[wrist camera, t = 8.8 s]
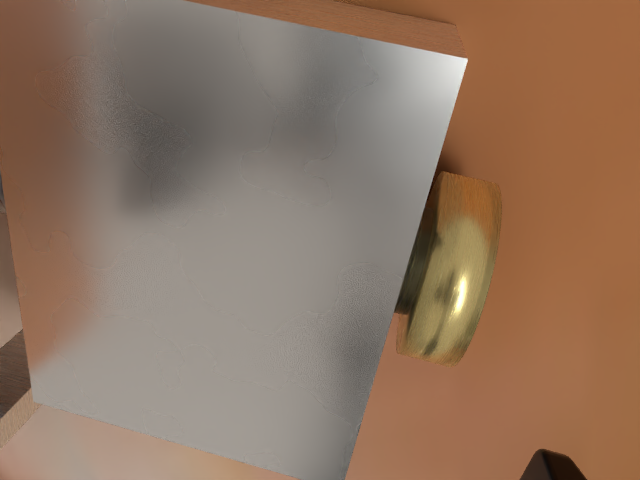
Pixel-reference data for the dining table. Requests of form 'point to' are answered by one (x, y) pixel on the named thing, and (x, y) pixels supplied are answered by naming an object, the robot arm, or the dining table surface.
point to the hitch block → (215, 213)
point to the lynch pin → (444, 269)
